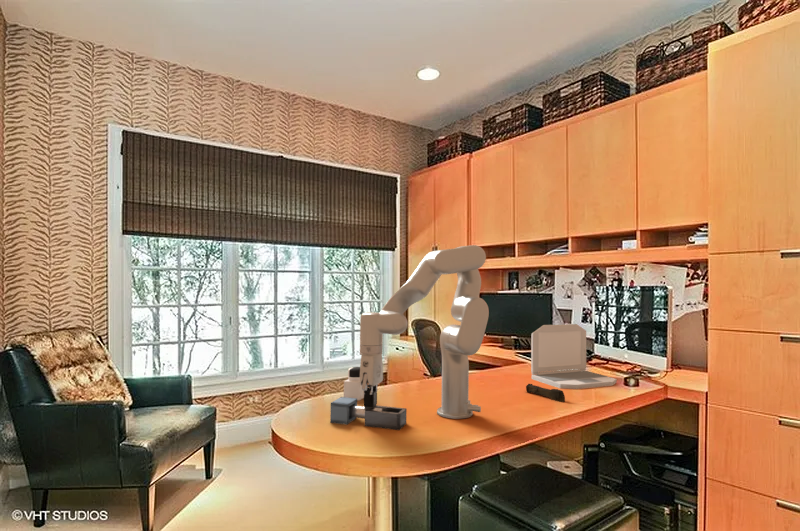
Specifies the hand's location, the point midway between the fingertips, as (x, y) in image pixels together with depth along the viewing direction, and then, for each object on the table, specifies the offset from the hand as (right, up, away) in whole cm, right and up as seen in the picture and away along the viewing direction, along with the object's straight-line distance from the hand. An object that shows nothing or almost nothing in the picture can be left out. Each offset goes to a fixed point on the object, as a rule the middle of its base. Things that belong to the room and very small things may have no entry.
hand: (370, 404), depth 152 cm
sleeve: (+5, -6, -2) cm, 8 cm away
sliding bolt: (-3, -5, +1) cm, 6 cm away
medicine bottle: (-8, -7, +32) cm, 34 cm away
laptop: (+94, -10, +66) cm, 115 cm away
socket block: (-9, -6, +3) cm, 11 cm away
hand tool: (+70, -8, +37) cm, 80 cm away
